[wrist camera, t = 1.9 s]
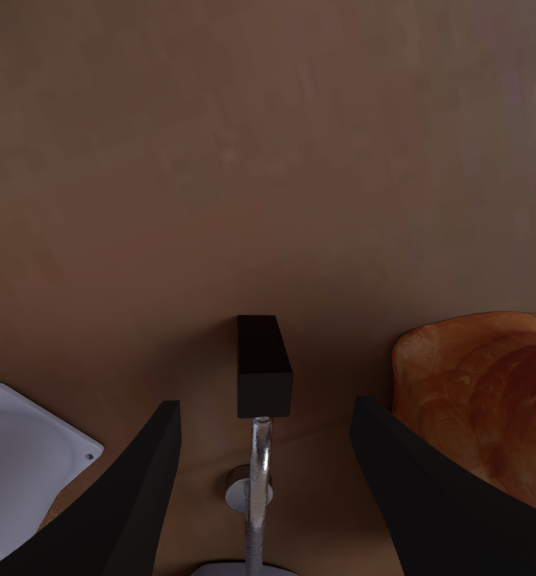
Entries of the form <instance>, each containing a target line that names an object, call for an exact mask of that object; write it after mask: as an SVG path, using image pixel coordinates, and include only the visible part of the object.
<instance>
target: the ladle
mask: <svg viewBox="0 0 536 576" xmlns="http://www.w3.org/2000/svg"><path fill="white" fill-rule="evenodd" d="M292 382H293V371H292V368H291V365H290V362H289V358H288V355H287V352H286V349H285V345H284V342H283V339H282V336H281V333H280V329H279V326H278V323H277V320H276V317H275V316H267V315H238V316H237V410H238V418H252V435H251V456H250V465H244V466H241V467H238V468H236V469H235V470H233V471H232V472H231V473H230V474H229V475H228V477H227V479H226V483H225V500H226V503H227V505H228V506H229V507H230V508H231V509H233V510H234V511H237V512H241V513H245V542H246V561H245V572H246V575H247V576H260V575H261V572H262V563H263V550H264V537H265V524H266V511H267V505H268V504H269V503H270V502H271V500H272V498H273V485H272V478H271V475H270V473H269V472H270V458H271V445H272V432H273V417H288V416H289V413H290V403H291V393H292Z"/></svg>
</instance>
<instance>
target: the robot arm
mask: <svg viewBox="0 0 536 576" xmlns="http://www.w3.org/2000/svg"><path fill="white" fill-rule="evenodd" d="M349 436H350V439H351V442H352V446H353V449H354V452H355V455H356V458H357V461H358V463H359V465H360V467H361V470H362V472H363V474H364V476H365V479H366V481H367V483H368V485H369V487H370V490H371V492H372V494H373V496H374V498H375V500H376V503H377V505H378V507H379V509H380V511H381V514H382V516H383V518H384V520H385V523H386V525H387V528H388V530H389V532H390V535H391V538H392V541H393V543H394V546H395V549H396V552H397V555H398V557H399V560H400V563H401V566H402V569H403V572H404V575H405V576H536V508H534V507H532V506H530V505H528V504H526V503H524V502H522V501H520V500H518V499H516V498H514V497H513V496H511V495H509V494H507V493H505V492H503V491H501V490H500V489H498V488H496V487H495V486H493V485H491V484H489V483H488V482H486V481H484V480H482V479H481V478H479V477H477V476H476V475H474V474H473V473H471V472H469V471H468V470H466V469H465V468H463V467H462V466H460V465H459V464H457V463H456V462H454V461H453V460H451V459H450V458H448V457H447V456H445V455H444V454H442V453H441V452H440V451H438V450H437V449H436V448H434V447H433V446H431V445H430V444H429V443H427V442H426V441H425V440H423V439H422V438H421V437H420V436H418V435H417V434H416V433H415V432H413V431H412V430H411V429H410V428H408V427H407V426H406V425H405V424H403V423H402V422H401V421H400V420H399V419H397V418H396V417H395V416H394V415H393V414H392V413H390V412H389V411H388V410H387V409H386V408H384V407H383V406H382V405H381V404H380V403H379V402H377V401H376V400H375V399H374V398H372V397H371V396H356V400H355V406H354V411H353V417H352V422H351V428H350V433H349ZM181 442H182V441H181V420H180V400H175V401H163V402H162V403H161V404H160V405H159V406H158V408H157V409H156V411H155V412H154V414H153V415H152V416H151V418H150V419H149V420H148V422H147V423H146V424H145V426H144V427H143V428H142V430H141V431H140V432H139V433H138V435H137V436H136V437H135V438H134V440H133V441H132V442H131V443H130V444H129V446H128V447H127V448H126V449H125V450H124V451H123V452H122V454H121V455H120V456H119V457H118V458H117V459H116V460H115V461H114V463H113V464H112V465H111V466H110V467H109V468H108V469H107V470H106V471H105V472H104V473H103V474H102V475H101V476H100V477H99V478H98V479H97V480H96V481H95V482H94V483H93V484H92V485H91V486H90V487H89V488H88V489H87V490H86V491H85V492H84V493H83V494H82V495H81V496H80V497H79V498H77V499H76V500H75V501H74V502H73V503H72V504H71V505H70V506H69V507H68V508H66V509H65V510H64V511H63V512H62V513H61V514H59V515H58V516H57V517H56V518H55V519H54V520H52V521H51V522H50V523H49V524H47V525H46V526H45V527H44V528H42V529H41V530H40V531H39V532H37V533H36V531H37V529H38V528H39V526H40V524H41V522H42V521H43V519H44V517H45V515H46V514H47V512H48V510H49V508H50V507H51V505H52V503H53V501H54V499H55V498H56V496H57V494H58V492H59V491H61V490H62V489H63V488H64V487H65V486H66V485H67V484H69V483H70V482H71V481H72V480H73V479H74V478H75V477H77V476H78V475H79V474H80V473H81V472H82V471H84V470H85V469H86V468H87V467H88V466H89V465H90V464H92V463H93V462H94V461H95V460H96V459H97V458H98V457H100V456H101V454H102V452H103V450H104V447H103V446H102V445H101V444H100V443H98V442H97V441H95V440H94V439H92V438H90V437H89V436H87V435H85V434H84V433H82V432H81V431H79V430H77V429H76V428H74V427H73V426H71V425H69V424H68V423H66V422H64V421H63V420H61V419H60V418H58V417H56V416H55V415H53V414H52V413H50V412H48V411H47V410H45V409H43V408H42V407H40V406H39V405H37V404H35V403H34V402H32V401H31V400H29V399H27V398H26V397H24V396H22V395H21V394H19V393H18V392H16V391H14V390H13V389H11V388H10V387H8V386H6V385H5V384H2V383H0V576H152V573H153V567H154V561H155V556H156V550H157V546H158V542H159V537H160V533H161V529H162V525H163V522H164V518H165V514H166V510H167V506H168V503H169V499H170V495H171V491H172V487H173V484H174V480H175V476H176V472H177V468H178V461H179V455H180V448H181ZM90 454H91V455H90ZM35 533H36V534H35Z"/></svg>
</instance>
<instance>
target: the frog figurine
mask: <svg viewBox="0 0 536 576" xmlns="http://www.w3.org/2000/svg"><path fill="white" fill-rule="evenodd" d="M391 361H392V367H393V372H394V395H393V400H392V409H391V413H392V414H393V415H394V416H395V417H396V418H397V419H399V420H400V421H401V422H402V423H403V424H405V425H406V426H407V427H408V428H410V429H411V430H412V431H413V432H415V433H416V434H417V435H418V436H420V437H421V438H422V439H423V440H425V441H426V442H427V443H429V444H430V445H431V446H433V447H434V448H436V449H437V450H438V451H440V452H441V453H442V454H444V455H445V456H447V457H448V458H450V459H451V460H453V461H454V462H456V463H457V464H459V465H460V466H462V467H463V468H465V469H466V470H468V471H469V472H471V473H473V474H474V475H476V476H477V477H479V478H481V479H482V480H484V481H486V482H488V483H489V484H491V485H493V486H495V487H496V488H498V489H500V490H501V491H503V492H505V493H507V494H509V495H511V496H513V497H514V498H516V499H518V500H520V501H522V502H524V503H526V504H528V505H530V506H532V507H534V508H536V313H521V312H488V313H480V314H473V315H468V316H463V317H458V318H453V319H449V320H445V321H442V322H438V323H434V324H429V325H425V326H421V327H418V328H415V329H413V330H410V331H408V332H406V333H405V334H403V335H402V336H401V337H399V339H398V341H397V342H396V344H395V346H394V348H393V351H392V354H391Z"/></svg>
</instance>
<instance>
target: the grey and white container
mask: <svg viewBox="0 0 536 576" xmlns="http://www.w3.org/2000/svg"><path fill="white" fill-rule="evenodd" d="M191 576H247V575H246V572H245V562H216V563H209V564H205V565H203V566H201V567H200V568H198V569H197V570H196V571H195V572H193V573H192V574H191ZM260 576H298V575H296V574H294V573H292V572H290V571H288V570H285V569H281V568H277V567H274V566H270V565H265V564H262V572H261V575H260Z"/></svg>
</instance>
